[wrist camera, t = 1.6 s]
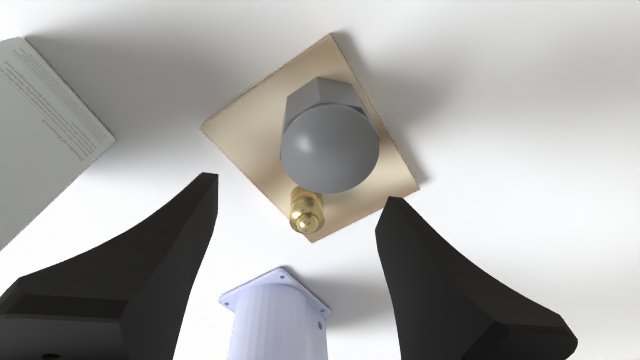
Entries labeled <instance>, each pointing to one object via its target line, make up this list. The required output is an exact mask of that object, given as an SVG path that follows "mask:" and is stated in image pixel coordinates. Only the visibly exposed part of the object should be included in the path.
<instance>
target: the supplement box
mask: <svg viewBox="0 0 640 360" xmlns="http://www.w3.org/2000/svg"><path fill="white" fill-rule="evenodd" d="M115 141H116V139H115V138H114V137H113V136H112V134H111V133H110V132H109V131H108V130H107V129H106V128H105V127H104V125H103V124H102V123H101V122H100V121H99V120H98V119H97V118H96V117H95V116H94V114H93V113H92V112H91V111H90V110H89V109H88V108H87V106H86V105H85V104H84V103H83V102H82V101H81V100H80V99H79V98H78V97H77V95H76V94H75V93H74V92H73V91H72V90H71V89H70V87H69V86H68V85H67V84H66V83H65V82H64V81H63V80H62V79H61V78H60V77H59V76H58V74H57V73H56V72H55V71H54V70H53V69H52V68H51V67H50V66H49V65H48V63H47V62H46V61H45V60H44V59H43V58H42V57H41V55H40V54H39V53H38V52H37V51H36V50H35V49H34V48H33V47H32V46H31V45H30V44H29V43H28V42H27V41H26V40H25V39H24V38H22V37H15V38H11V39H7V40H3V41H0V251H1V250H2V249H3V248H4V247H5V246H6V245H7V244H8V243H10V242H11V241H12V240H13V239H14V238H15V237H16V236H17V235H18V234H19V233H20V232H21V231H22V230H23V229H24V228H25V227H26V226H27V225H28V224H29V223H30V222H32V221H33V220H34V219H35V218H36V217H37V216H38V215H39V214H40V213H41V212H42V211H43V210H44V209H45V208H46V207H47V206H48V205H49V204H50V203H51V202H52V201H53V200H54V199H56V198H57V197H58V196H59V195H60V194H61V193H62V192H63V191H64V190H65V189H66V188H67V187H68V186H69V185H70V184H71V183H72V182H73V181H74V180H75V179H76V178H77V177H78V176H79V175H81V174H82V173H83V172H84V171H85V170H86V169H87V168H88V167H89V166H90V165H91V164H92V163H93V162H94V161H95V160H96V159H97V158H98V157H99V156H101V155H102V154H103V153H104V152H105V151H106V150H107V149H108V148H109V147H110V146H111V145H112V144H113V143H114V142H115Z"/></svg>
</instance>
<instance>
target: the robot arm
mask: <svg viewBox="0 0 640 360" xmlns="http://www.w3.org/2000/svg"><path fill="white" fill-rule="evenodd" d="M217 214H218V174H213V173H205V172H202V173H201V174H199V175H198V176H197V177H196V178H195V179H194V180H193V181H192V182H191V183H190V184H189V185H188V186H187V187H185V188H184V189H183V190H182V191H181V192H180V193H179V194H177V195H176V196H175V197H174V198H173V199H171V200H170V201H169V202H168V203H166V204H165V205H164V206H163V207H161V208H160V209H159V210H157V211H156V212H155V213H153V214H152V215H150V216H149V217H148V218H146V219H145V220H143V221H142V222H140V223H139V224H137V225H135V226H134V227H132V228H131V229H129V230H127V231H126V232H124V233H122V234H120V235H118V236H116V237H114V238H112V239H111V240H109V241H107V242H105V243H103V244H101V245H99V246H97V247H95V248H93V249H91V250H88V251H86V252H84V253H82V254H79V255H77V256H75V257H73V258H70V259H68V260H65V261H63V262H60V263H58V264H55V265H53V266H50V267H47V268H44V269H42V270H39V271H36V272H34V273H31V274H28V275H25V276H22V277H19V278H18V279H17V280H16V281H15V282H14V283H13V284H12V285H11V286H10V287H9V288H8V289H7V290H6V291H5V292H4V293H3V295H2V296H1V297H0V360H173V356H174V352H175V348H176V344H177V340H178V336H179V332H180V328H181V325H182V321H183V317H184V313H185V310H186V306H187V303H188V299H189V295H190V292H191V289H192V286H193V283H194V280H195V278H196V275H197V273H198V270H199V268H200V265H201V262H202V260H203V257H204V255H205V252H206V250H207V247H208V245H209V242H210V239H211V237H212V234H213V230H214V226H215V222H216V218H217ZM375 234H376V242H377V249H378V253H379V257H380V261H381V264H382V268H383V271H384V275H385V278H386V282H387V285H388V288H389V292H390V295H391V299H392V303H393V308H394V314H395V319H396V325H397V331H398V338H399V345H400V352H401V360H566V359H567V358H568V357H569V356H570V355H572V354H573V353H574V351H575V350H576V348H577V345H578V339H577V338H576V337H575V335H574V334H573V332H572V331H571V330H570V328H569V327H568V325H567V324H566V323H565V321H564V320H563V318H562V317H561V316H560V315H559V314H557V313H555V312H553V311H551V310H549V309H547V308H545V307H543V306H542V305H540V304H538V303H536V302H534V301H532V300H530V299H528V298H526V297H525V296H523V295H521V294H519V293H518V292H516V291H514V290H513V289H511V288H509V287H508V286H506V285H504V284H503V283H501V282H500V281H498V280H496V279H495V278H493V277H492V276H491V275H489V274H488V273H486V272H485V271H483V270H482V269H480V268H479V267H478V266H476V265H475V264H474V263H472V262H471V261H470V260H468V259H467V258H466V257H465V256H463V255H462V254H461V253H460V252H458V251H457V250H456V249H455V248H454V247H452V246H451V245H450V244H449V243H448V242H447V241H446V240H445V239H444V238H442V237H441V236H440V235H439V234H438V233H437V232H436V231H435V230H434V229H433V228H432V227H431V226H430V225H429V224H428V223H427V222H426V221H425V220H424V219H423V218H422V217H421V216H420V215H419V214H418V213H417V212H416V211H415V210H414V209H413V208H412V207H411V206H410V205H409V204H408V203H407V202H406V201H405V200H404V199H403V198H401V197H393V196H389V197H388V199H387V202H386V204H385V207H384V209H383V211H382V214H381V216H380V219H379V221H378V224H377V226H376V229H375ZM282 275H283V276H282ZM219 303H220V304H222V305H223V306H225V307H226V308H228V309H229V310H231V311H232V312H234V313H235V318H234V323H233V329H232V334H231V340H230V346H229V351H228V357H227V360H328V353H327V340H326V326H325V319H326V318H328V317H330V316H331V315H332V312H331V310H330V309H329V308H328V307H326V306H325V305H324V304H323V303H322V302H321V301H319V300H318V299H317V298H316V297H315V296H314V295H313V294H311V293H310V292H309V291H308V290H307V289H306V288H305V287H303V286H302V285H301V284H300V283H299V282H298V281H297V280H295V279H294V278H293V277H292V276H291V275H290V274H289V273H287V272H286V271H285V270H284V269H282V268H277V269H275V270H273V271H271V272H269V273H267V274H265V275H263V276H261V277H259V278H257V279H255V280H253V281H251V282H249V283H247V284H245V285H242V286H240V287H238V288H236V289H234V290H232V291H230V292H228V293H226V294H224V295H222V296H220V297H219Z"/></svg>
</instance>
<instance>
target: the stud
mask: <svg viewBox="0 0 640 360" xmlns="http://www.w3.org/2000/svg"><path fill="white" fill-rule="evenodd" d="M324 222H325V219H324V209H323V199H322V194H321V193H315V192H312V191H309V190H306V189H304V188H302V187H301V186H299V185H298V186H296V187H295V188H294V189H293V190H292V192H291V196H290V225H291V227H292V228H293V229H294V230H295V231H296V232H299V233H302V234H311V233H315V232H317V231H319V230H320V229H321V228H322V227H323V225H324Z"/></svg>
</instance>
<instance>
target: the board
mask: <svg viewBox="0 0 640 360" xmlns="http://www.w3.org/2000/svg"><path fill="white" fill-rule="evenodd" d="M315 77H320V78H325V79H330V80H335V81H340V82H345V83H350V84H352V86H353V88H354V89H355V91H356V93H357V94H358V96H359V98H360V99H361V101H362V103H363V104H364V106H365V108H366V110H367V111H368V113H369V115H370V117H371V120H372V122H373V124H374V126H375V128H376V130H377V132H378V135H379V137H380V141H379V157H378V160H377V163H376V166H375V168H374V169H373V171H372V172H371V174H370V175H369V176H368V177H367V178H366V179H365V180H364V181H363V182H362V183H360V184H359V185H357V186H356V187H354V188H352V189H350V190H347V191H344V192H340V193H334V194H322V199H323V209H324V219H325V222H324V225H323V227H322V228H321V229H320V230H319V231H317V232H315V233H311V234H303V235H304V236H305V237H306V238H307V239H308V240H309V241H310V242H311V243H314V242H316V241H318V240H320V239H322V238H324V237H326V236H328V235H330V234H332V233H334V232H336V231H338V230H340V229H342V228H344V227H346V226H348V225H350V224H352V223H354V222H356V221H358V220H360V219H362V218H364V217H366V216H368V215H370V214H372V213H374V212H376V211H378V210H380V209H382V208H384V207H385V204H386V202H387V199H388V197H389V196H393V197H401V198H404V197H406V196H408V195H410V194H412V193H414V192H416V191H418V190H419V189H420V188H419V186H418V185H417V183H416V181H415V179H414V177H413V176H412V174H411V172H410V171H409V169H408V167H407V165H406V164H405V162H404V160H403V158H402V157H401V155H400V153H399V151H398V150H397V148H396V146H395V145H394V143H393V141H392V139H391V138H390V136H389V134H388V132H387V131H386V129H385V127H384V125H383V124H382V122H381V120H380V119H379V117H378V115H377V113H376V112H375V110H374V108H373V106H372V105H371V103H370V101H369V99H368V98H367V96H366V94H365V93H364V91H363V89H362V87H361V86H360V84H359V82H358V80H357V79H356V77H355V75H354V74H353V72H352V70H351V68H350V67H349V65H348V63H347V61H346V60H345V58H344V56H343V54H342V53H341V51H340V49H339V48H338V46H337V44H336V42H335V41H334V39H333V37H332V35H331V34H330V33H329V34H328V35H326V36H325V37H323V38H322V39H321V40H319V41H318V42H316V43H315V44H314V45H312V46H311V47H309V48H308V49H307V50H305V51H304V52H302V53H301V54H299V55H298V56H297V57H295V58H294V59H292V60H291V61H290V62H288V63H287V64H285V65H284V66H283V67H281V68H280V69H278V70H277V71H276V72H274V73H273V74H271V75H270V76H268V77H267V78H266V79H264V80H263V81H261V82H260V83H259V84H257V85H256V86H254V87H253V88H252V89H250V90H249V91H247V92H246V93H245V94H243V95H242V96H240V97H239V98H238V99H236V100H235V101H233V102H232V103H230V104H229V105H228V106H226V107H225V108H223V109H222V110H221V111H219V112H218V113H216V114H215V115H214V116H212V117H211V118H209V119H208V120H207V121H205V122H204V123H203V124H202V126H201V128H200V130H201V131H202V132H203V133H204V134H205V135H206V136H207V137H208V138H209V139H210V140H211V141H212V142H213V143H214V144H215V145H216V146H217V147H218V148H219V149H220V150H221V151H222V152H223V153H224V154H225V155H226V157H227V158H228V159H229V160H230V161H231V162H232V163H233V164H234V165H235V166H236V167H237V168H238V169H239V170H240V171H241V172H242V173H243V174H244V175H245V176H246V177H247V178H248V179H249V180H250V181H251V182H252V183H253V184H254V185H255V186H256V187H257V188H258V189H259V190H260V191H261V192H262V193H263V194H264V195H265V196H266V197H267V198H268V199H269V200H270V201H271V202H272V203H273V204H274V205H275V206H276V207H277V208H278V210H279V211H280V212H281V213H282V214H283V215H284V216H285V217H286V218H287V219H288V220H289V221H290V196H291V192H292V190H293V189H294V188H295V187H296V186H298V184H296V183H295V182H294V181H293V180H292V179H291V178H290V177H289V176H288V174H287V173H286V171H285V169H284V166H283V164H282V160H281V159H280V158H279V156H280V145H281V135H282V126H283V120H284V113H285V107H286V101H287V96H289V95H290V94H292V93H293V92H295V91H296V90H297V89H299V88H300V87H302V86H303V85H305V84H306V83H308V82H309V81H311V80H312V79H314V78H315Z"/></svg>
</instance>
